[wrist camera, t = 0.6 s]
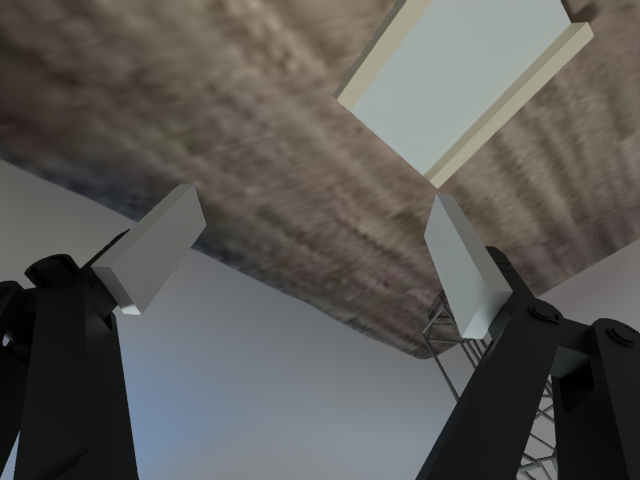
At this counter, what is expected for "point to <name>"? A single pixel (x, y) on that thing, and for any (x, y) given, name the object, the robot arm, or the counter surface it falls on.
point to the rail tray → (456, 74)
